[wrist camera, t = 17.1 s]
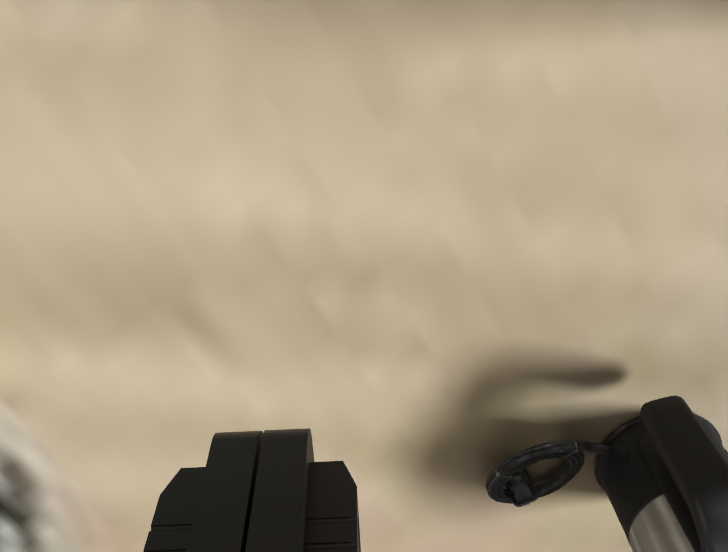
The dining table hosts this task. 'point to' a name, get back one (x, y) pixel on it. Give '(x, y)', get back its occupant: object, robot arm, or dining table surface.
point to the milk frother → (642, 478)
